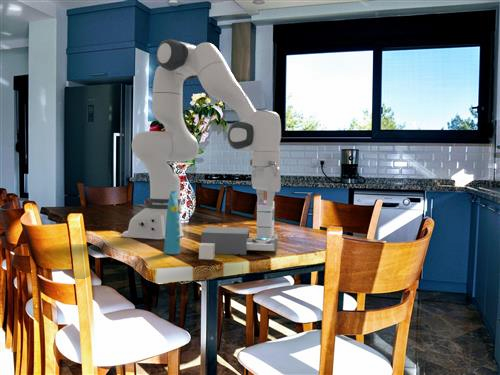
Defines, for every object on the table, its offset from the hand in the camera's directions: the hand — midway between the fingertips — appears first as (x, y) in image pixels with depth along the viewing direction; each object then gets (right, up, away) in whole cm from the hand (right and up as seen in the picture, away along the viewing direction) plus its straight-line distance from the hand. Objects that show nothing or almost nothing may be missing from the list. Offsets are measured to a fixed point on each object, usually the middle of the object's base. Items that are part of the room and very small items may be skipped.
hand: (264, 204), depth 145 cm
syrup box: (+1, -14, +25) cm, 28 cm away
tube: (-28, -15, -7) cm, 33 cm away
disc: (-1, -13, +1) cm, 13 cm away
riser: (-17, -15, -12) cm, 26 cm away
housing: (-13, -15, +1) cm, 19 cm away
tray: (-3, -14, +1) cm, 14 cm away
